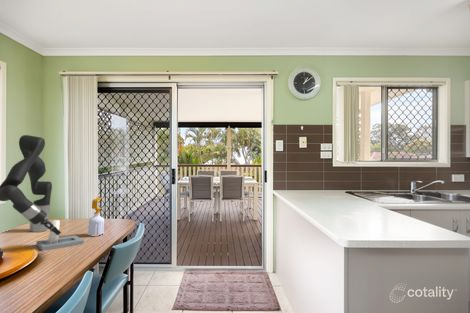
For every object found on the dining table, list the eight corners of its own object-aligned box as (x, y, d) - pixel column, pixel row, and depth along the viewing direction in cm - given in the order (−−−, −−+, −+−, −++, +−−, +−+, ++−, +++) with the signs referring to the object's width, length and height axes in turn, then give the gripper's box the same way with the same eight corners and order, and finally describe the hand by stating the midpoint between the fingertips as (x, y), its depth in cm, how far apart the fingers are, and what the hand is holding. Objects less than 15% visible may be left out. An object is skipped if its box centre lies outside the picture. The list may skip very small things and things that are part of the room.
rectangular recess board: (42, 250, 136) (42, 247, 137) (36, 244, 146) (36, 241, 146) (83, 243, 151) (84, 240, 151) (75, 238, 161) (76, 235, 161)
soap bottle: (106, 234, 174) (108, 197, 175) (95, 237, 165) (98, 199, 166) (95, 232, 176) (98, 196, 177) (84, 235, 168) (87, 198, 169)
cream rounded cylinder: (46, 244, 144) (48, 221, 144) (51, 242, 148) (53, 219, 149) (54, 245, 144) (56, 221, 145) (59, 242, 148) (61, 220, 149)
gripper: (43, 210, 137) (67, 230, 145) (37, 206, 146) (60, 225, 155) (30, 221, 133) (55, 241, 141) (24, 217, 142) (49, 235, 151)
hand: (58, 232), depth 148 cm, fingers closed on cream rounded cylinder, 4 cm apart
